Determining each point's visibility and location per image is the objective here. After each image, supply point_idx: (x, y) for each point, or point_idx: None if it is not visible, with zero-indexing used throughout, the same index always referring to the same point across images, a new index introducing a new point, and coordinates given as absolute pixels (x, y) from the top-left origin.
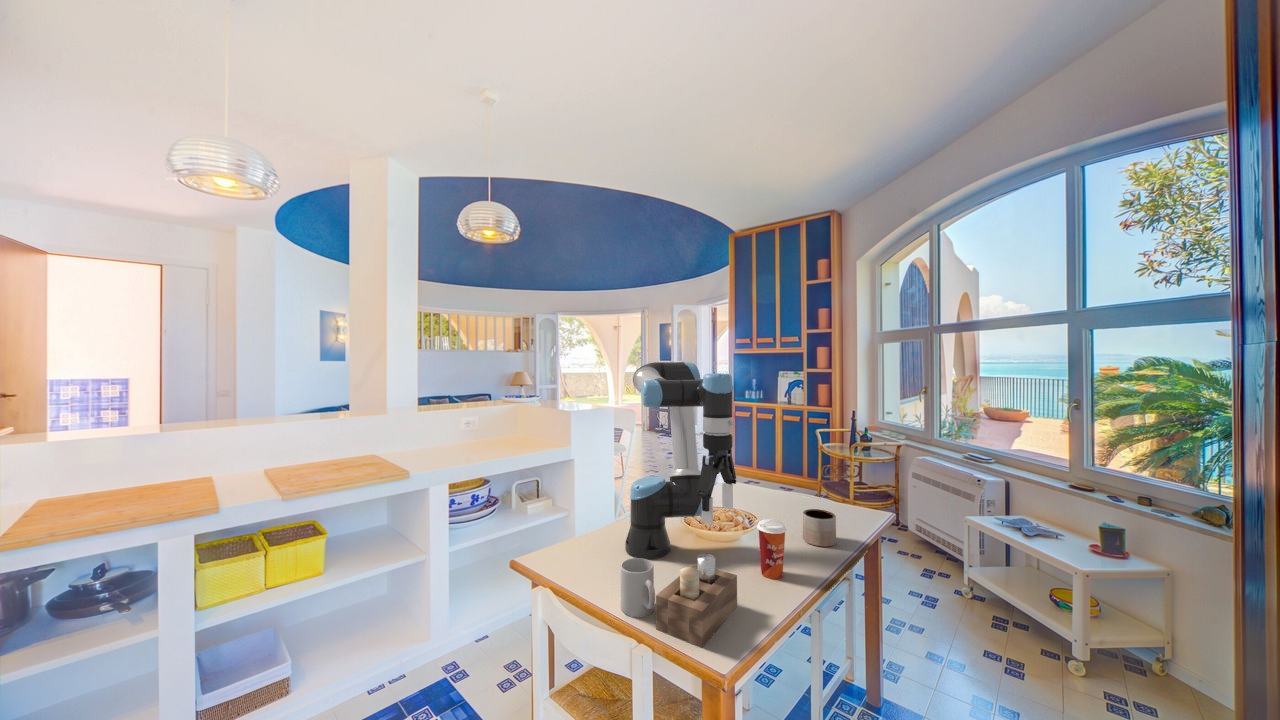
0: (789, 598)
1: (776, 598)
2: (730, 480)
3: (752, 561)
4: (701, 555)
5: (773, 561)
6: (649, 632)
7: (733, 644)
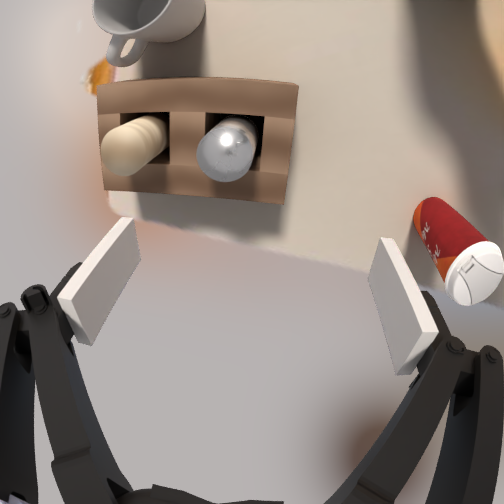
0: (351, 254)
1: (343, 235)
2: (408, 392)
3: (471, 173)
4: (231, 136)
5: (424, 241)
6: (118, 76)
7: (168, 203)
